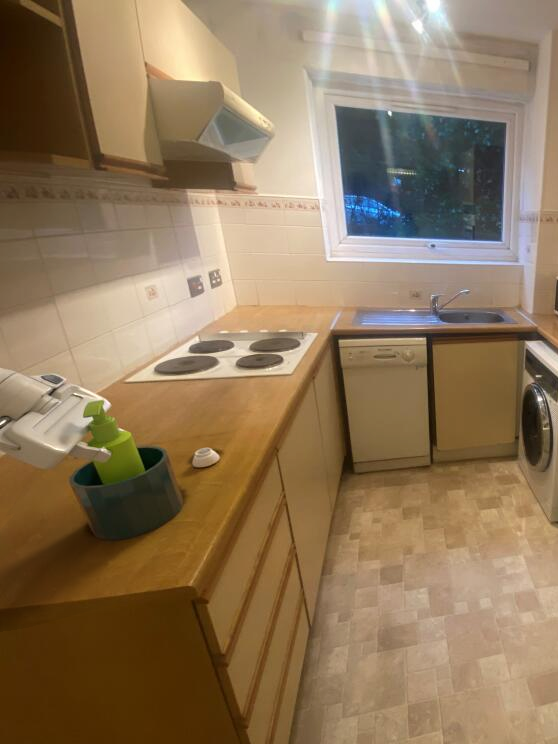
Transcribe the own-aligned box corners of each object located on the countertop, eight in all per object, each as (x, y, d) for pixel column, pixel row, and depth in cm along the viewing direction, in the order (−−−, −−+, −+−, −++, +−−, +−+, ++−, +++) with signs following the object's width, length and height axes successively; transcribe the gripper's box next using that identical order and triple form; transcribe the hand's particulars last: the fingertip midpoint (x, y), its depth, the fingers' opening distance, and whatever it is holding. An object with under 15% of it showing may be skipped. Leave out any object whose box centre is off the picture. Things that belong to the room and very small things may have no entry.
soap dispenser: (110, 518, 75) (64, 417, 67) (115, 496, 80) (73, 400, 72) (152, 506, 78) (113, 408, 70) (155, 486, 83) (119, 392, 75)
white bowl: (218, 454, 101) (192, 461, 98) (214, 443, 99) (188, 450, 96) (221, 463, 97) (194, 471, 94) (218, 452, 96) (190, 459, 93)
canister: (79, 549, 73) (53, 495, 68) (109, 503, 84) (88, 455, 80) (174, 527, 78) (155, 476, 74) (190, 487, 89) (174, 440, 85)
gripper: (-9, 418, 59) (106, 463, 67) (60, 369, 76) (146, 410, 84) (-39, 453, 59) (80, 494, 67) (37, 397, 76) (125, 434, 84)
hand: (117, 447), depth 75 cm, fingers closed on soap dispenser, 6 cm apart
